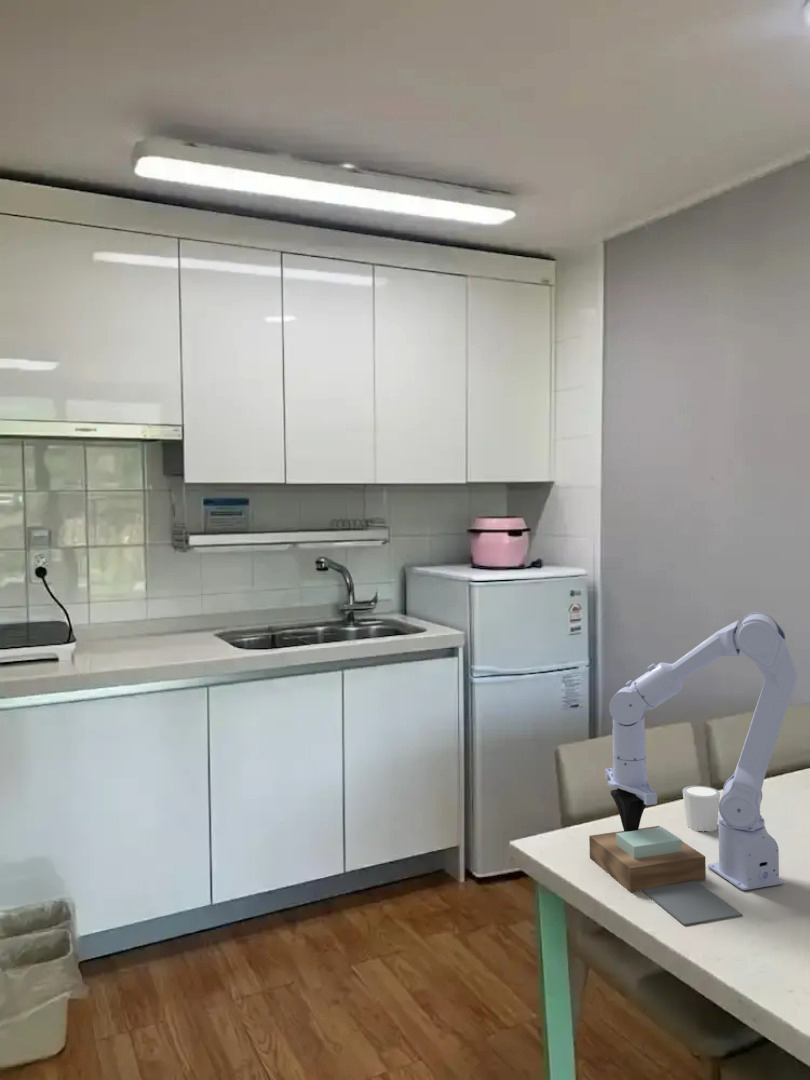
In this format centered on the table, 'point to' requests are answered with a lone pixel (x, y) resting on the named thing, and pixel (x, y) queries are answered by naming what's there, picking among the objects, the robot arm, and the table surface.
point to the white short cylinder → (701, 807)
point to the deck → (646, 864)
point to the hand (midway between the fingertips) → (630, 831)
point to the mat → (691, 903)
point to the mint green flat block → (648, 842)
